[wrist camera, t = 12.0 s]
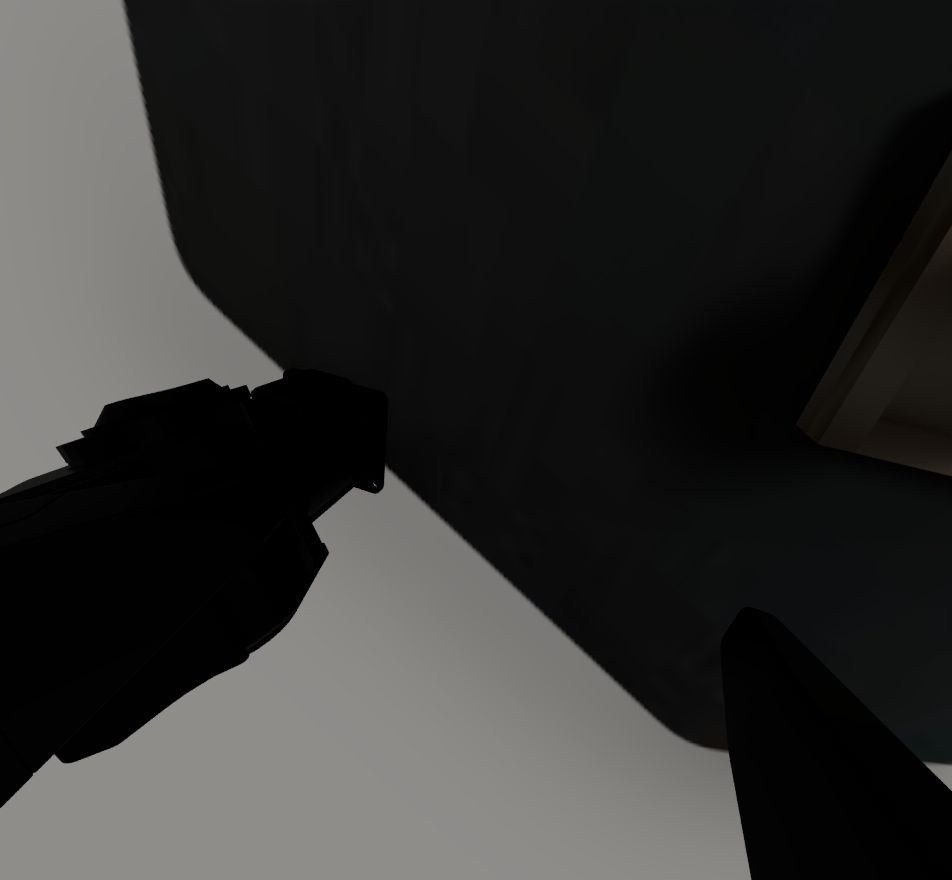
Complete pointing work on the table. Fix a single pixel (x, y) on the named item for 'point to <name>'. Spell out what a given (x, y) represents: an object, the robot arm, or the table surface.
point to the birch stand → (898, 353)
